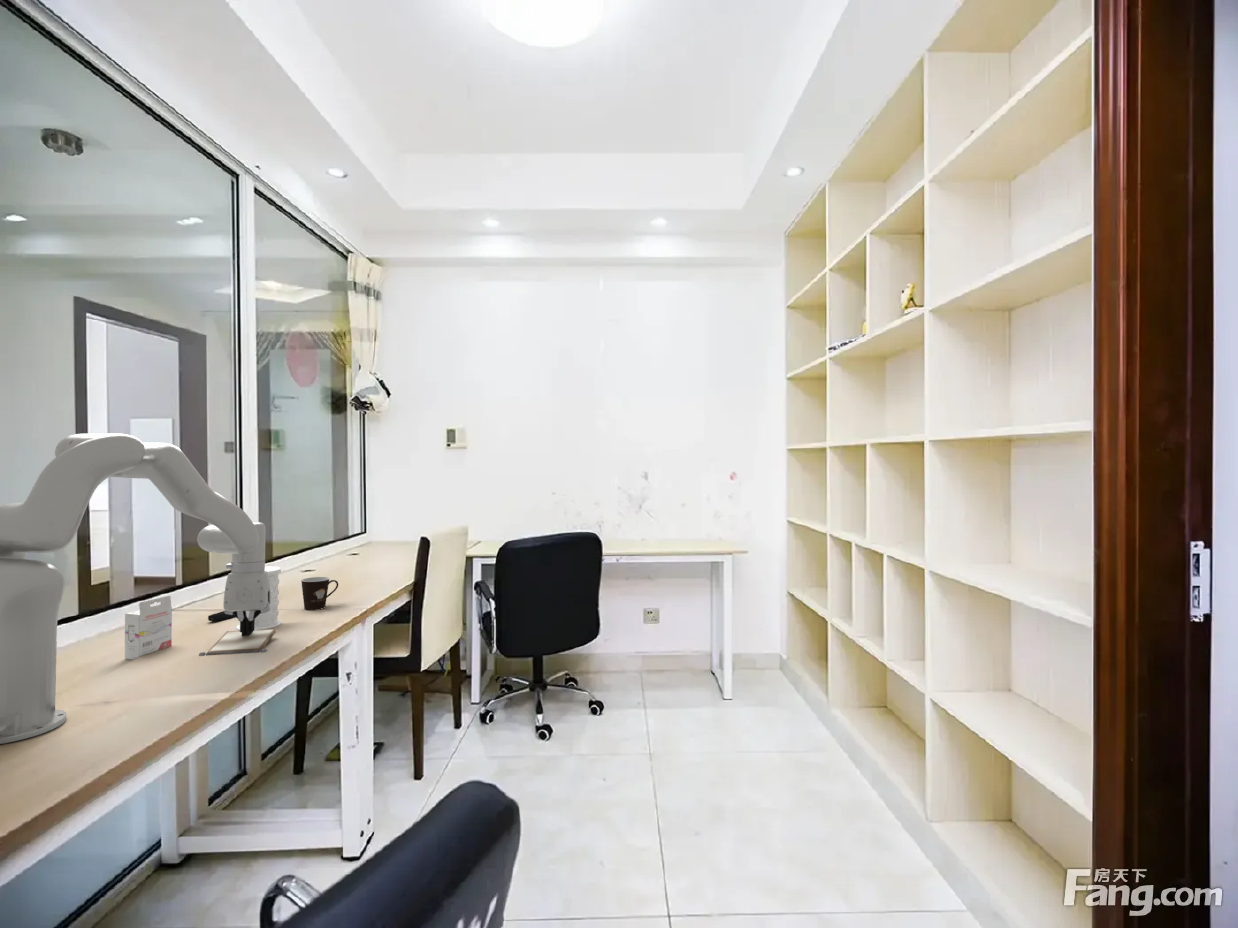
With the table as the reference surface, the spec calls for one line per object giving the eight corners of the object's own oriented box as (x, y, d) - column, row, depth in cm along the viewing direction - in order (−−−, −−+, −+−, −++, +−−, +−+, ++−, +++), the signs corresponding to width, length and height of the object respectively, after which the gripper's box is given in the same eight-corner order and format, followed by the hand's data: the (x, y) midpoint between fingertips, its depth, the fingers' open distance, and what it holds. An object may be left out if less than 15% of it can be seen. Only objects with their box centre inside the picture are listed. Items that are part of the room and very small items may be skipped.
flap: (275, 628, 158) (275, 632, 159) (226, 630, 155) (227, 634, 156) (258, 650, 146) (258, 654, 146) (205, 653, 143) (205, 657, 143)
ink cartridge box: (156, 648, 151) (158, 593, 151) (172, 650, 150) (173, 595, 150) (123, 659, 143) (124, 601, 143) (138, 660, 142) (140, 602, 142)
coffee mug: (300, 612, 190) (301, 582, 190) (300, 606, 198) (301, 578, 198) (338, 608, 196) (339, 579, 196) (337, 603, 203) (338, 575, 203)
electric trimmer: (204, 624, 176) (204, 614, 176) (245, 611, 191) (245, 602, 191) (214, 625, 175) (214, 615, 175) (255, 612, 190) (255, 602, 190)
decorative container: (257, 636, 164) (258, 574, 164) (226, 632, 167) (227, 571, 167) (290, 625, 175) (291, 567, 175) (260, 622, 178) (261, 565, 178)
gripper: (211, 570, 149) (209, 640, 148) (274, 569, 152) (273, 637, 152) (223, 565, 156) (221, 632, 156) (283, 564, 159) (282, 629, 159)
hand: (247, 634), depth 154 cm, fingers closed
